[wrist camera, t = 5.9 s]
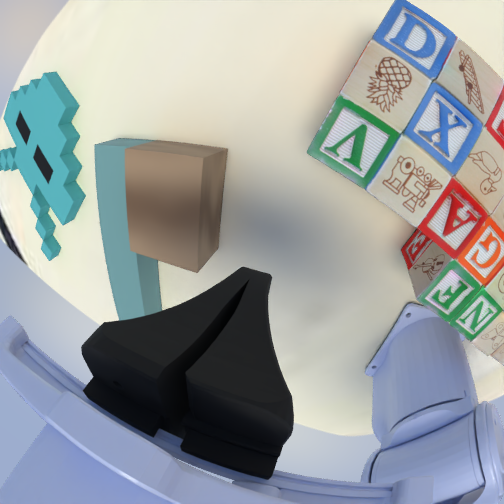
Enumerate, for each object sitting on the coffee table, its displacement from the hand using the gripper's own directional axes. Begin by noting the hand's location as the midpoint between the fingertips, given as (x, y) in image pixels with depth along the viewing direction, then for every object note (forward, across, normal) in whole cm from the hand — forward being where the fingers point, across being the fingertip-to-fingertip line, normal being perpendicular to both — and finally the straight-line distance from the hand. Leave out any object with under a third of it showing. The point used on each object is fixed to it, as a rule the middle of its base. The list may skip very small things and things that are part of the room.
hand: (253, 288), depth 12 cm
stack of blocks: (+5, -14, -11) cm, 19 cm away
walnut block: (+9, +8, 0) cm, 12 cm away
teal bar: (+8, +13, +7) cm, 17 cm away
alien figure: (+9, +30, -2) cm, 31 cm away
